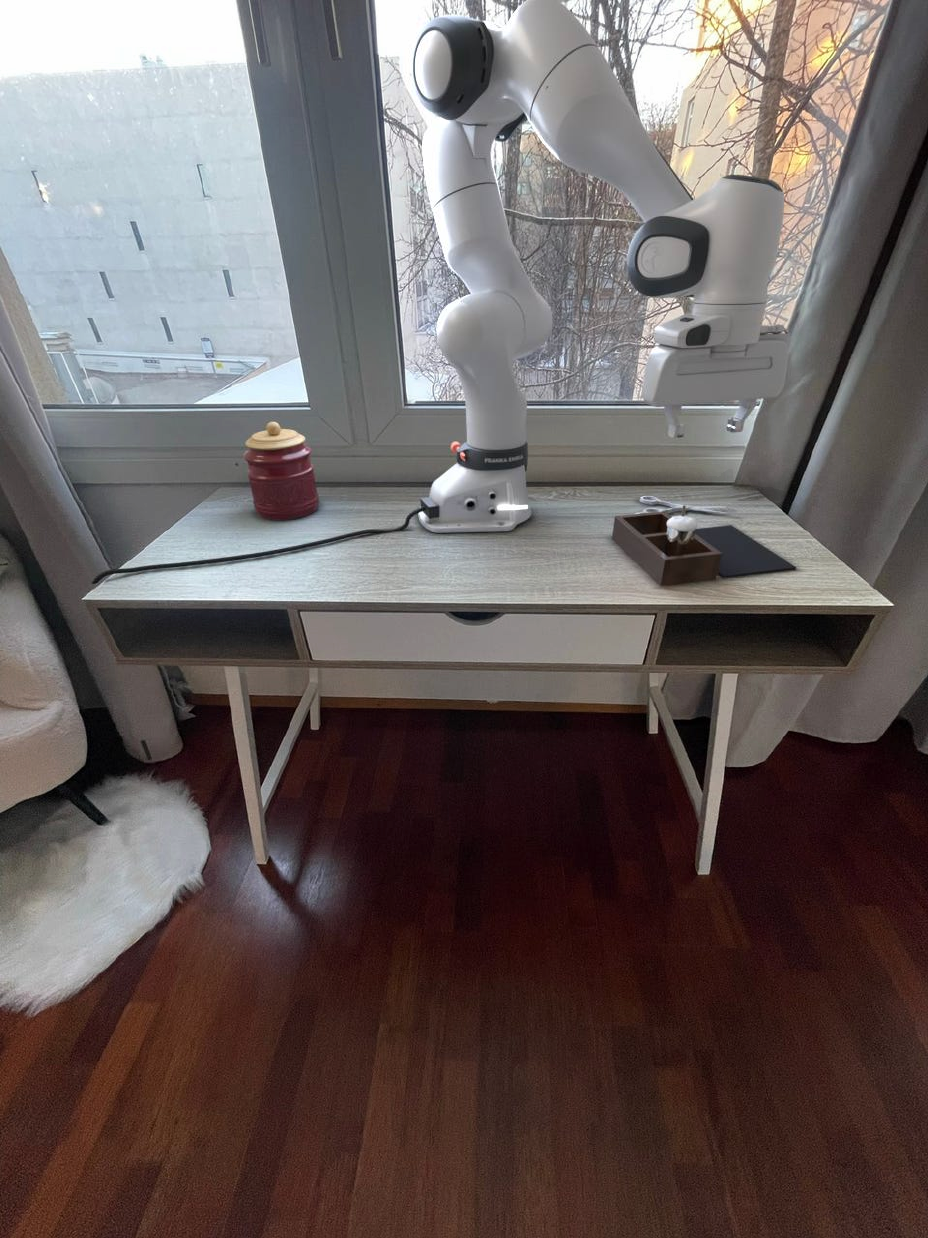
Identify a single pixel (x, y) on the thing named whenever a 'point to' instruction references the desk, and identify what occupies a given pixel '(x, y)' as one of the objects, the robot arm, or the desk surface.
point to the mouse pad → (741, 553)
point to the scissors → (676, 507)
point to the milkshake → (679, 534)
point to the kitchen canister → (281, 474)
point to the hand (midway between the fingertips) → (704, 434)
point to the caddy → (647, 549)
